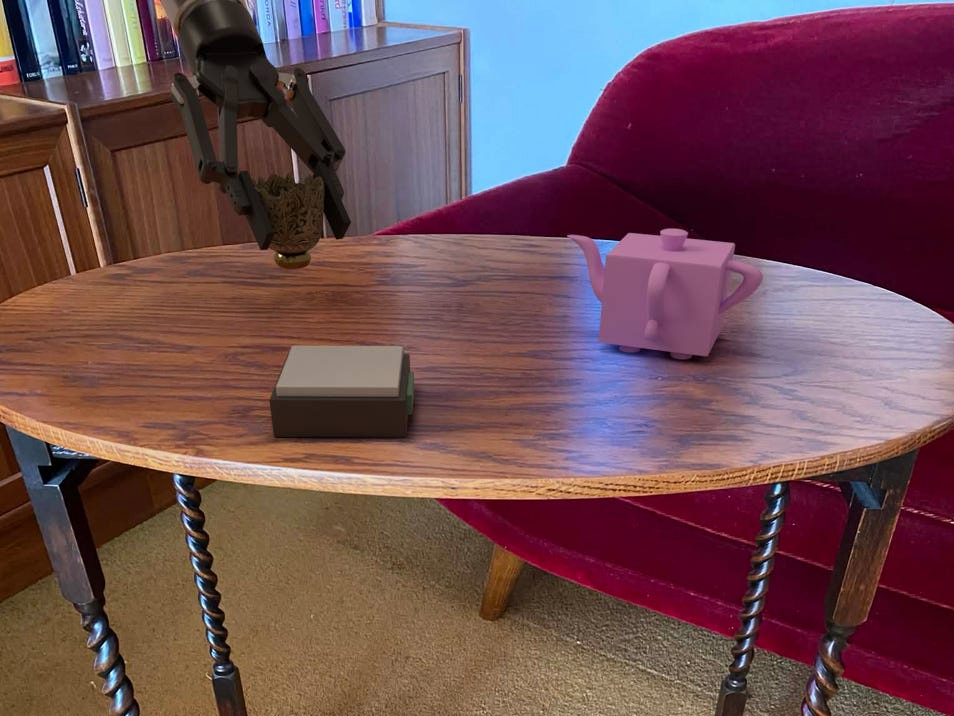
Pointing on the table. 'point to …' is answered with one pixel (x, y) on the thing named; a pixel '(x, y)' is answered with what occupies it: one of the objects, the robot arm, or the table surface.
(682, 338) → the teapot
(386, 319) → the table surface
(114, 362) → the table surface
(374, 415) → the scale
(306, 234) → the cup
